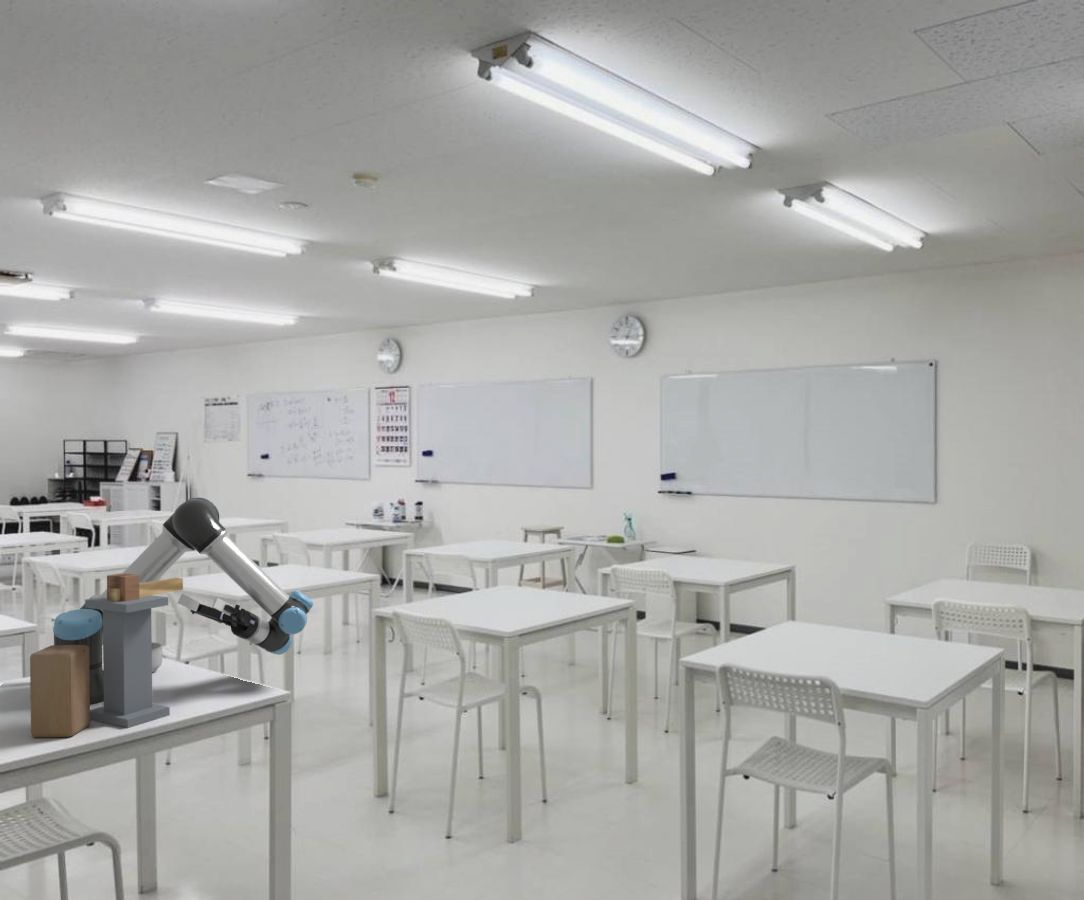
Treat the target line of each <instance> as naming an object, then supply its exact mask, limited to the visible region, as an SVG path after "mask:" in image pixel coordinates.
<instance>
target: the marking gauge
mask: <svg viewBox="0 0 1084 900" xmlns="http://www.w3.org/2000/svg"><path fill="white" fill-rule="evenodd" d="M106 589H107V599H109V601H130V600H136V599H139V597H144V596H150V595H153V596H156V595H160V594H166V593H172V592H178V591H183V590H184V579H183V577H180V578H179V577H171V578H166V579H159V580H158V581H152V582H145V583H139V575H133V574H123V572H122V573H121V572H120V573H115V574H106Z"/></svg>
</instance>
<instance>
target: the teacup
mask: <svg viewBox="0 0 1084 900" xmlns="http://www.w3.org/2000/svg"><path fill="white" fill-rule="evenodd" d="M162 663H163V644H162V643H160V642H156V641H155V642H154V641H152V673H155V672H156V671H157V670H158V669H159V668H160V667H161V666H162Z"/></svg>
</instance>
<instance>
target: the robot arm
mask: <svg viewBox="0 0 1084 900" xmlns="http://www.w3.org/2000/svg"><path fill="white" fill-rule="evenodd" d="M227 531H228V530H227V529H226V527H224V526H223V524H222V523H221V522H220V511H219V510H218V508H217V506H216V505H215V504H214V503H213V502H212V501H210V500H209V499H207V498H204V497H199V496H198V497H192V498H189V499H187V500H185V501H184V502H183V503H181V504H179V506H178V507H177V508H176V509H175V511H174V512H173V513H172V515H170V517H168V518H167V519H166V520H165V522H163V523H162V531H161V533H160V534H158V536H157V537H156V538H155V539H154V540H153V541H152V543H150V544H149V545H148V546H147V547H146V549H145V550H144V551H143V552H141V553H140V555H139V556H137V558H136V559H135V560H134V561H133V562H132V563H131V564H130V565H129V566H128V567H127V568H126V569H125V570H124V571H123V572H122V573H123V574H133V575H139V583H145V582H152V581H158V580H161V579H160V578H161V577H163V576H164V575H165V573H166V572H168V570H169V569H170V568H171V567H172V566H173V565H174V564H175V563H176V562H177V561H178V560H180V558H181V557H182V556H183V555H184V554H185V553H186V552H195V551H196V552H197V553H199V554H200V555H206V556H207V557H208V558H209V559H210V560H211V561H212V562H213V563H215V564H216V566H218V567H219V568H220V570H222V571H223V572H224V573H225V575H227V576H228V577H229V578H230V579H231V580H232V581H233V582H234V583H235V584H237V586H239V587H240V588H241V589H242V590H243V592H244V593H246V594H247V596H249V597H250V598H251V599H252V600H253V601H254V602H256V603H257V604H258V605H259V607H260V608H262V609H263V611H265V612H266V613H267V614H268V615H269V616H270V619H269V620H268V621H267V620H266V619H264V618H262V617H260V616H259V615H256V614H255V613H253V612H251V611H249V610H246V608H245V609H244V608H241V605H239V604H235V606H234V605H232V604H231V603H229V602H227V601H224V600H223V599H221V598H219V597H215V598H214V601H213V604H212V606H210V605H209V606H208V605H205V604H202V603H201V602H200V601H198V600H196V599H194V598H193V597H190V596H188V595H186V594H184V593H181V594H180V597H179V599H178V601H177V604H179V605H181V606H182V607H185V608H187V609H189V610H190V612H191V614H192V615H195V614H196V615H198V616H202V617H203V618H207V619H210V620H213V621H215V622H217V623H219V624H224V625H226V626H229V627H230V630H231V633H232V634H233V636H236V637H238V638H241V639H243V640H245V641H246V642H249V645H250V646H252V645H253V644H254V646H257V647H259V648H260V649H263V650H264V651H265V652H267V653H271V654H273V655H277V656H280V655H283V654H285V653H287V652H288V651H289V649H290V648H291V644H292V643H293V636H292V635H296V634H299V633H300V632H302V631H303V630H304V628H305V627H306V625H307V622H308V617H307V614H308V613H310V611H311V609H312V607H313V606H314V602H313V601H312V600H311V598H309V596H307V595H306V594H304V593H303V592H301V591H300V590H297V589H296V590H293V591H292V592H291V593H290V595H288V594H287V593H286V592H285V590H284V589H282V587H280V586H279V584H277V583H276V582H275V581H274V580H273V579H272V577H270V576H269V575H268V574H267V573H266V572H265V571H264V570H263V568H261V567H260V566H259V565H258V564H257V563H256V562H255V561H254V560H253V559H252V558H250V557H249V555H248V554H247V553H245V552H244V550H242V549H241V548H240V547H239V546H238V544H237V543H235V542H234V540H233V539H231V538H230V537H229V536H228V532H227ZM104 596H107V588H106V589H105V590H104V591H103V592H102V593H101V594H93V595H92V596H91V597H90V598H89V599H92V598H98V597H104ZM240 608H241V609H240ZM52 631H53V632H52V633H53V645H86V646H88V647H89V678H90V705H92V704H96V703H99V702H100V703H101V702H104V679H103V610H100V609H92V608H85V603H83V605H82V606H80V607H79V609H72V610H68V611H65V612H62V613H60V614H58V615H57V616H56V617H55V618H54V622H53V627H52Z"/></svg>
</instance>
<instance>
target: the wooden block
mask: <svg viewBox="0 0 1084 900" xmlns="http://www.w3.org/2000/svg"><path fill="white" fill-rule="evenodd" d="M29 671H30V673H29V676H30V678H29V679H30V685H29V686H30V688H29V689H30V735H31V737H32V738H37V739H38V738H70V737H73V736H75V735H77V734H78V733H79V732H81V731H83V730H84V729H86V728H87V727H88V726H89V725H90V724H91V720H90V710H91V704H90V678H89V647H88V646H86V645H54V644H53V645H49V646H47V647H45V648H43V649H40V650H37V651H36V652H33V653H31V655H30V656H29Z"/></svg>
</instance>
